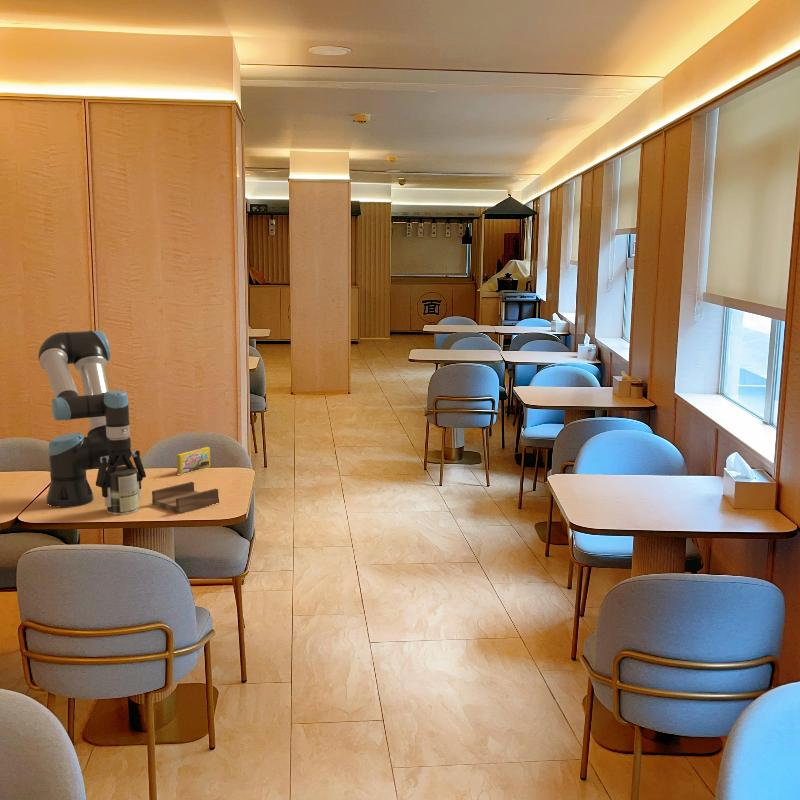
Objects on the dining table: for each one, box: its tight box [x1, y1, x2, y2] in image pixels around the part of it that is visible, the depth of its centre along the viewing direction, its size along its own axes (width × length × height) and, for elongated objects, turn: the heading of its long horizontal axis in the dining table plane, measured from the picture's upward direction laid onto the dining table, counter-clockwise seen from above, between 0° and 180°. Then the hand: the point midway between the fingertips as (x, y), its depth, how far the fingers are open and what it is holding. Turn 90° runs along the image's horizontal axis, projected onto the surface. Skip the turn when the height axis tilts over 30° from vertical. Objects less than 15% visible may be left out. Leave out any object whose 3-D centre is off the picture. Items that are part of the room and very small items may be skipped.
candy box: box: [176, 446, 211, 476], centre depth 355 cm, size 16×2×8 cm, turn 147°
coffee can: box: [105, 465, 140, 516], centre depth 302 cm, size 10×10×14 cm
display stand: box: [151, 481, 220, 515], centre depth 309 cm, size 16×16×5 cm
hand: (122, 502), depth 302 cm, fingers closed on coffee can, 10 cm apart
